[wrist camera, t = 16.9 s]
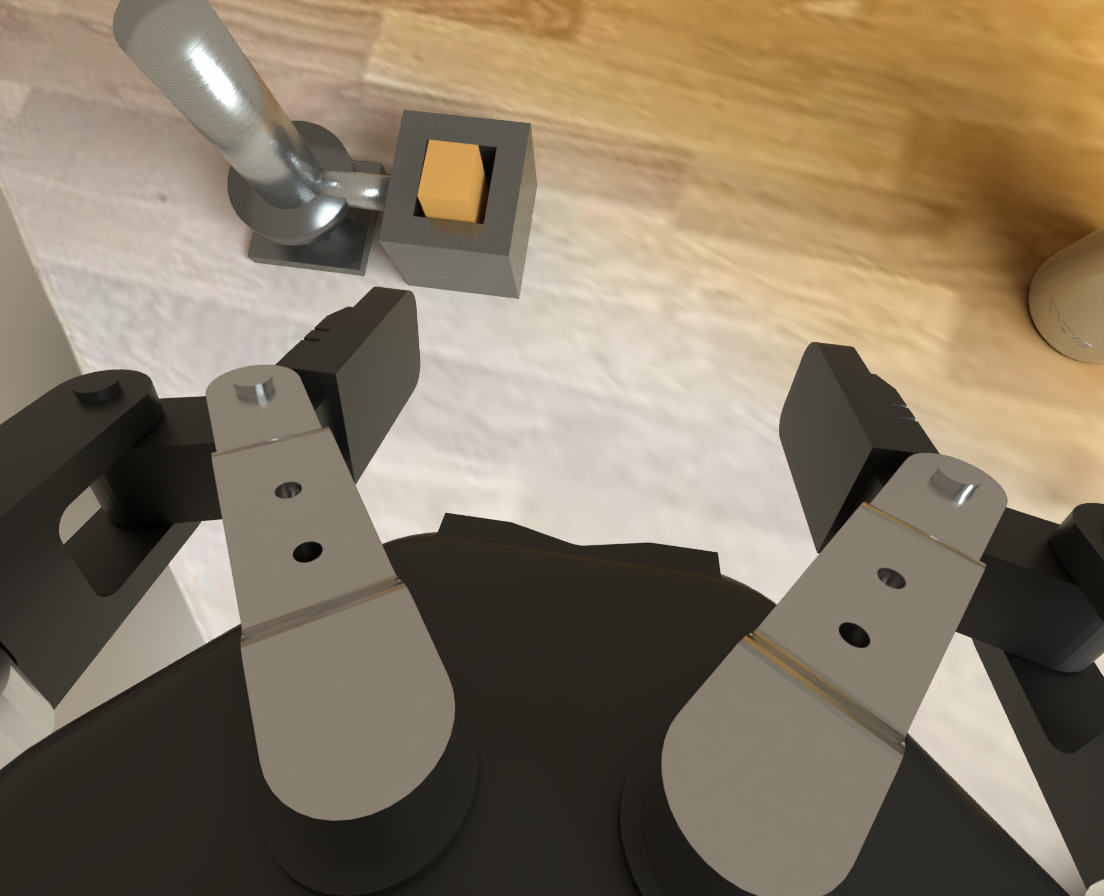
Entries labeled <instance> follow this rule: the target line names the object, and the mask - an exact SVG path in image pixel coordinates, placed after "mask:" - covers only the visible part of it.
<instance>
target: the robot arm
mask: <svg viewBox="0 0 1104 896" xmlns="http://www.w3.org/2000/svg"><path fill="white" fill-rule="evenodd" d="M1028 301H1029V308H1030V314H1031V316H1032V319H1033V321H1034V324H1035V326H1036V328H1037V329H1038V331H1039V332H1040V334H1041V335H1042V337H1043V338H1044V339H1045V340H1046V341H1047V342H1048V343H1049V344H1050V345H1051V346H1052V347H1054V348H1055V349H1056V350H1058V351H1059V352H1061V353H1062V354H1064V355H1066V356H1068V357H1070V358H1072V359H1075V360H1077V361H1081V362H1085V363H1089V364H1104V226H1103V227H1101V228H1099V229H1097V230H1096V231H1094V232H1092V233H1090V234H1089V235H1087V236H1085V237H1083V238H1082V239H1080V240H1078V241H1076V242H1075V243H1073V244H1071V245H1069V246H1068V247H1066V248H1064V249H1062V250H1061V251H1059V252H1057V253H1056V254H1054V255H1052V256H1051V257H1049V258H1048V259H1047V260H1046V261H1045V262H1044V263H1043V264H1042V265H1041V266H1040V267H1039V268H1038V270H1037V271H1036V273H1035V275H1034V276H1033V279H1032V282H1031V285H1030V288H1029V299H1028ZM419 373H420V350H419V337H418V323H417V309H416V301H415V297H414V294H413V293H412V292H411V291H407V290H399V289H391V288H383V287H373V288H372V289H371V290H370V291H369V292H368V293H367V294H366V295H365V296H364V297H363V298H362V299H361V300H360V301H359V302H358V303H357V304H356V305H355V306H354V307H346V308H344V309H342V310H339V311H337V312H335V313H333V314H330V315H328V316H327V317H325V318H324V319H323V320H322V321H321V322H320V323H319V324H318V325H317V326H316V327H315V330H312V331H311V332H310V333H308V334H307V335H306V336H305V337H304V340H301V341H300V342H299V343H298V344H297V345H296V346H295V347H294V348H293V349H291V350H290V351H289V352H288V353H287V354H286V355H285V356H284V357H283V358H282V359H281V360H280V361H279V362H278V363H277V364H275V365H254V366H247V367H242V368H238V369H235V370H232V371H229V372H227V373H225V374H223V375H221V376H219V377H218V378H216V379H215V380H213V381H212V382H211V383H210V384H209V386H208V387H207V390H206V396H201V397H182V398H162V399H159V398H158V395H157V393H156V390H155V388H154V385H153V383H152V381H151V379H150V377H148V376H147V375H146V374H143V373H141V372H138V371H133V370H122V369H120V370H105V371H98V372H93V373H89V374H85V375H82V376H79V377H75V378H73V379H70V380H68V381H66V382H64V383H62V384H60V385H58V386H56V387H55V388H53V389H52V390H50V391H49V392H47V393H46V394H44V395H43V396H42V397H40V398H39V399H37V400H36V401H34V402H33V403H31V404H30V405H28V406H27V407H25V408H24V409H23V410H21V411H20V412H18V413H17V414H15V415H14V416H12V417H11V418H9V419H8V420H7V421H5V422H4V423H2V424H1V425H0V896H1070V895H1069V894H1068V893H1067V892H1066V891H1065V890H1064V889H1063V888H1062V887H1061V886H1060V885H1059V884H1058V883H1057V882H1056V881H1055V880H1054V879H1053V878H1052V877H1051V876H1050V875H1049V874H1048V873H1047V872H1046V871H1045V870H1044V869H1043V868H1042V867H1041V866H1040V865H1039V864H1038V863H1037V862H1036V861H1035V860H1034V859H1033V858H1032V857H1031V856H1030V855H1029V854H1028V853H1027V852H1026V851H1025V850H1024V849H1023V848H1022V847H1021V846H1020V845H1019V844H1018V843H1017V842H1016V841H1015V840H1014V839H1013V838H1012V837H1011V836H1010V835H1009V834H1008V833H1007V832H1006V831H1005V830H1004V829H1003V828H1002V827H1001V826H1000V825H999V824H998V823H997V822H996V821H995V820H994V819H993V818H992V817H991V816H990V815H989V814H988V813H987V812H986V811H985V810H984V809H983V808H982V807H981V806H980V805H979V804H978V803H977V802H976V801H975V800H974V799H973V798H972V797H971V796H970V795H969V794H968V793H967V792H966V791H965V790H964V789H963V788H962V787H961V786H960V785H959V784H958V783H957V782H956V781H955V780H954V779H953V778H952V777H951V776H950V775H949V774H948V773H947V772H946V771H945V770H944V769H943V768H942V767H941V766H940V765H939V764H938V763H937V762H936V761H935V760H934V759H933V758H932V757H931V756H930V755H929V754H928V753H927V752H926V751H925V750H924V749H923V748H922V747H921V746H920V745H919V744H918V743H917V742H916V741H915V740H914V739H913V738H912V737H911V736H910V735H909V734H908V733H907V732H908V730H909V727H910V725H911V723H912V721H913V719H914V717H915V715H916V713H917V711H918V709H919V706H920V704H921V702H922V700H923V698H924V696H925V694H926V692H927V690H928V688H929V686H930V683H931V681H932V679H933V677H934V675H935V673H936V671H937V669H938V667H939V665H940V662H941V660H942V658H943V656H944V654H945V652H946V650H947V648H948V646H949V644H950V642H951V639H952V637H953V635H954V633H955V632H958V633H960V634H963V635H966V636H968V637H971V638H972V640H973V643H974V646H975V648H976V650H977V652H978V654H979V656H980V659H981V661H982V663H983V665H984V667H985V669H986V672H987V674H988V676H989V678H990V680H991V682H992V685H993V687H994V689H995V691H996V693H997V695H998V698H999V700H1000V702H1001V704H1002V706H1003V709H1004V711H1005V713H1006V715H1007V717H1008V719H1009V722H1010V724H1011V726H1012V728H1013V730H1014V732H1015V735H1016V737H1017V739H1018V741H1019V743H1020V745H1021V748H1022V750H1023V752H1024V754H1025V756H1026V758H1027V761H1028V763H1029V765H1030V767H1031V769H1032V772H1033V774H1034V776H1035V778H1036V780H1037V782H1038V785H1039V787H1040V789H1041V791H1042V793H1043V795H1044V798H1045V800H1046V802H1047V804H1048V806H1049V808H1050V811H1051V813H1052V815H1053V817H1054V819H1055V821H1056V824H1057V826H1058V828H1059V830H1060V832H1061V834H1062V837H1063V839H1064V841H1065V843H1066V845H1067V848H1068V850H1069V852H1070V854H1071V856H1072V858H1073V861H1074V863H1075V865H1076V867H1077V869H1078V871H1079V874H1080V876H1081V878H1082V880H1083V882H1084V884H1085V887H1086V889H1087V892H1086V894H1085V896H1104V677H1103V675H1102V674H1101V672H1100V670H1099V669H1098V667H1097V666H1096V664H1095V663H1094V661H1095V660H1096V659H1097V658H1098V657H1100V656H1101V655H1102V654H1103V653H1104V504H1099V503H1085V504H1081V505H1078V506H1077V507H1075V508H1074V509H1073V511H1072V512H1071V513H1070V514H1069V515H1068V516H1067V518H1066V519H1065V520H1064V521H1063V522H1062V523H1061V524H1056V523H1053V522H1050V521H1047V520H1044V519H1041V518H1038V517H1035V516H1031V515H1028V514H1025V513H1022V512H1019V511H1016V510H1013V509H1010V508H1007V507H1006V506H1007V502H1008V500H1007V495H1006V493H1005V491H1004V490H1003V488H1002V487H1001V486H1000V485H999V484H998V483H997V482H996V481H995V480H994V479H993V478H992V477H991V476H989V475H988V474H986V473H985V472H983V471H982V470H980V469H978V468H977V467H975V466H973V465H971V464H969V463H967V462H964V461H962V460H959V459H956V458H953V457H950V456H946V455H942V454H939V452H938V451H937V449H936V448H935V446H934V445H933V443H932V442H931V440H930V439H929V437H928V436H927V435H926V433H925V432H924V430H923V429H922V427H921V426H920V424H919V423H918V422H916V421H915V417H914V415H913V414H912V412H911V411H910V410H909V408H906V406H907V405H906V404H905V402H904V401H903V399H902V398H901V396H900V395H899V393H898V392H897V390H896V389H895V388H893V387H892V386H891V385H889V384H888V383H887V382H885V381H884V380H883V379H881V378H880V377H878V376H877V375H876V374H871V373H870V372H869V370H868V368H867V367H866V365H865V364H864V362H863V361H862V359H861V357H860V356H859V354H858V353H857V351H856V350H855V348H854V347H851V346H843V345H835V344H827V343H819V342H812V343H811V344H809V346H808V347H807V348H806V350H805V352H804V354H803V357H802V360H801V362H800V365H799V367H798V370H797V373H796V375H795V378H794V380H793V383H792V386H791V388H790V391H789V393H788V396H787V399H786V401H785V404H784V406H783V409H782V413H781V417H780V424H779V435H780V440H781V443H782V446H783V449H784V452H785V455H786V458H787V462H788V465H789V468H790V471H791V474H792V477H793V480H794V483H795V486H796V489H797V492H798V495H799V498H800V502H801V505H802V508H803V511H804V514H805V517H806V520H807V523H808V526H809V529H810V532H811V535H812V538H813V542H814V545H815V548H816V551H817V553H820V554H819V555H818V556H817V558H816V559H815V560H814V561H813V562H812V564H811V565H810V566H809V567H808V568H807V570H806V571H805V572H804V573H803V574H802V576H801V577H800V578H799V579H798V580H797V582H796V583H795V584H794V585H793V586H792V588H791V589H790V590H789V591H788V592H787V593H786V595H785V596H784V597H783V598H782V599H781V601H780V602H779V603H778V604H775V603H774V602H773V601H771V600H770V599H768V598H767V597H765V596H764V595H762V594H761V593H759V592H758V591H756V590H754V589H752V588H751V587H749V586H747V585H745V584H743V583H741V582H739V581H737V580H734V579H732V578H730V577H727V576H725V575H722V574H721V573H720V566H719V558H718V552H711V551H704V550H697V549H691V548H684V547H677V546H670V545H663V544H656V543H629V544H609V545H588V546H580V545H575V544H571V543H568V542H565V541H563V540H560V539H557V538H554V537H551V536H548V535H546V534H543V533H540V532H537V531H534V530H531V529H529V528H526V527H523V526H520V525H517V524H514V523H512V522H506V521H499V520H492V519H485V518H478V517H471V516H465V515H458V514H451V513H445V515H444V518H443V520H442V523H441V525H440V528H439V530H438V532H432V533H423V534H416V535H411V536H407V537H403V538H398V539H395V540H392V541H389V542H386V543H383V544H382V543H381V541H380V539H379V537H378V534H377V532H376V530H375V528H374V526H373V523H372V521H371V519H370V517H369V514H368V512H367V510H366V508H365V505H364V503H363V501H362V499H361V497H360V494H359V492H358V490H357V488H356V483H357V482H358V480H359V478H360V477H361V475H362V474H363V472H364V470H365V469H366V467H367V465H368V464H369V462H370V461H371V459H372V457H373V456H374V454H375V453H376V451H377V449H378V448H379V446H380V444H381V443H382V441H383V440H384V438H385V436H386V435H387V433H388V431H389V430H390V428H391V427H392V425H393V423H394V422H395V420H396V419H397V417H398V415H399V414H400V412H401V410H402V409H403V407H404V406H405V404H406V402H407V401H408V399H409V397H410V396H411V394H412V393H413V391H414V389H415V387H416V385H417V382H418V378H419ZM89 486H90V487H91V489H92V491H93V493H94V494H95V496H96V498H97V500H98V502H99V503H100V505H101V508H100V509H99V510H98V511H97V512H96V513H95V514H94V515H93V516H92V517H91V518H90V519H89V520H88V521H87V522H86V523H85V524H84V525H83V526H82V527H81V528H80V529H79V530H78V531H77V532H76V533H75V534H74V535H73V536H72V537H71V538H70V539H69V540H68V541H67V542H66V543H65V544H64V545H63V543H62V541H61V539H60V535H59V523H60V519H61V517H62V515H63V513H64V511H65V509H66V508H67V507H68V506H69V504H70V503H72V502H73V501H74V500H75V499H76V498H77V497H78V496H79V495H80V494H81V493H82V492H83V491H85V490H86V488H88V487H89ZM219 519H223V525H224V530H225V536H226V541H227V547H228V553H229V558H230V564H231V569H232V575H233V581H234V586H235V592H236V597H237V603H238V609H239V614H240V620H241V624H239V625H237V626H236V627H234V628H232V629H231V630H229V631H227V632H225V633H224V634H222V635H220V636H218V637H217V638H215V639H213V640H212V641H210V642H208V643H206V644H205V645H203V646H201V647H199V648H198V649H196V650H194V651H193V652H191V653H189V654H187V655H186V656H184V657H182V658H181V659H179V660H177V661H175V662H174V663H172V664H170V665H168V666H167V667H165V668H163V669H162V670H160V671H158V672H156V673H155V674H153V675H151V676H149V677H148V678H146V679H144V680H143V681H141V682H139V683H137V684H136V685H134V686H132V687H131V688H129V689H127V690H125V691H124V692H122V693H120V694H118V695H117V696H115V697H113V698H112V699H110V700H108V701H107V702H105V703H103V704H101V705H99V706H98V707H96V708H94V709H93V710H91V711H89V712H87V713H86V714H84V715H82V716H81V717H79V718H77V719H75V720H74V721H72V722H71V723H68V724H67V725H65V726H63V727H62V728H60V729H58V730H56V731H55V732H53V728H54V724H55V715H54V711H53V710H54V709H55V708H56V707H57V705H58V704H59V703H60V701H61V700H62V699H63V698H64V696H65V695H66V694H67V693H68V691H69V690H70V689H71V687H72V686H73V685H74V683H75V682H76V681H77V680H78V679H79V677H80V676H81V675H82V674H83V672H84V671H85V670H86V668H87V667H88V666H89V665H90V663H91V662H92V661H93V660H94V658H95V657H96V656H97V654H98V653H99V652H100V651H101V649H102V648H103V647H104V646H105V644H106V643H107V642H108V640H109V639H110V638H111V637H112V635H113V634H114V633H115V631H116V630H117V629H118V628H119V626H120V625H121V623H123V621H124V620H125V619H126V617H127V616H128V615H129V614H130V612H131V611H132V610H133V608H134V607H135V606H136V605H137V603H138V602H139V601H140V600H141V598H142V597H143V595H144V594H145V593H146V592H147V591H148V589H149V588H150V587H151V586H152V584H153V583H154V582H155V581H156V579H157V578H158V577H159V575H160V574H161V573H162V572H163V570H164V569H165V568H166V567H167V565H168V564H169V563H170V561H171V560H172V559H173V558H174V556H175V555H176V554H177V552H178V551H179V550H180V549H181V547H182V546H183V545H184V544H185V542H186V541H187V540H188V538H189V537H190V536H191V535H192V533H193V532H194V531H195V530H196V528H197V527H198V526H199V524H200V523H201V521H208V520H219ZM52 732H53V733H52Z"/></svg>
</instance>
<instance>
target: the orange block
mask: <svg viewBox="0 0 1104 896" xmlns="http://www.w3.org/2000/svg"><path fill="white" fill-rule="evenodd" d="M417 196H418V198H419V201H420V203H421V205H422V208H423V210H424V212H425V215H426V217H427V218H434V219H442V220H451V221H459V222H468V223H476V224H484V220H485V214H486V208H487V202H488V196H489V191H488V187H487V182H486V178H485V173H484V169H483V165H482V160H481V156H480V151H479V147H478V145H473V144H464V143H455V142H445V141H436V140H429V143H428V147H427V152H426V157H425V162H424V166H423V171H422V176H421V181H420V185H419V190H418V195H417Z"/></svg>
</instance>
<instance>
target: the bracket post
mask: <svg viewBox="0 0 1104 896" xmlns="http://www.w3.org/2000/svg"><path fill="white" fill-rule="evenodd" d="M113 32H114V36H115V39H116V41H117V43H118V45H119V46H120V48H121V49H122V50H123V51H124V52H125V53H126V54H127V55H128V56H129V57H130V59H131V60H132V61H133V62H134V63H135V64H136V65H137V66H138V67H139V68H140V69H141V70H142V71H143V72H144V73H145V74H146V75H147V77H148V78H149V79H150V80H151V81H152V82H153V83H154V84H155V85H156V86H157V87H158V88H159V89H160V90H161V91H162V92H163V94H164V95H165V96H166V97H167V98H168V99H169V100H170V101H171V102H172V103H173V104H174V105H175V106H176V107H177V108H178V109H179V110H180V112H181V113H182V114H183V115H184V116H185V117H186V118H187V119H188V120H189V121H190V122H191V123H192V124H193V125H194V126H195V127H196V129H197V130H198V131H199V132H200V133H201V134H202V135H203V136H204V137H205V138H206V139H207V140H208V141H209V142H210V143H211V144H212V145H213V147H214V148H215V149H216V150H217V151H218V152H219V153H220V154H221V155H222V156H223V157H224V158H225V159H226V160H227V161H228V162H229V164H230V165H231V167H230V170H229V175H228V194H229V198H230V201H231V204H232V206H233V208H234V210H235V211H236V213H237V215H238V216H239V217H240V218H241V219H242V220H243V221H244V222H245V223H246V224H247V225H248V226H249V227H250V228H251V229H252V230H253V231H254V232H253V236H252V241H251V245H250V249H249V254H248V257H249V258H250V259H252V260H253V261H254V262H256V263H264V264H272V265H280V266H288V267H296V268H305V269H313V270H321V271H329V272H337V273H345V274H353V275H361V276H365V271H366V266H367V261H368V256H369V251H370V246H371V241H372V236H373V230H374V225H375V220H376V215H377V211H384V214H383V219H382V224H381V229H380V234H379V239H378V241H379V242H380V244H381V245H382V247H383V248H384V250H385V251H386V253H387V254H388V256H389V257H390V259H391V260H392V262H393V263H394V265H395V266H396V268H397V269H398V270H399V272H400V273H401V275H402V276H403V278H404V279H405V281H406V282H407V284H408V285H412V286H420V287H429V288H437V289H445V290H453V291H461V292H469V293H477V294H485V295H493V296H501V297H509V298H517V299H519V295H520V289H521V283H522V276H523V270H524V264H525V257H526V251H527V245H528V239H529V232H530V226H531V220H532V213H533V207H534V201H535V195H536V188H537V180H536V170H535V161H534V151H533V142H532V132H531V123H522V122H512V121H503V120H494V119H484V118H475V117H465V116H456V115H447V114H437V113H428V112H418V111H409V110H404V112H403V117H402V122H401V127H400V132H399V137H398V142H397V148H396V153H395V158H394V163H393V168H392V173H391V176H388V175H385V170H384V168H383V166H382V164H381V163H372V162H364V161H355V160H352V159H351V158H350V156H349V154H348V153H347V151H346V149H345V148H344V146H343V145H342V143H341V142H340V141H339V139H338V138H337V137H336V136H335V135H333V134H332V133H331V132H330V131H328V130H327V129H325V128H323V127H321V126H319V125H317V124H313V123H310V122H305V121H290V119H289V118H288V116H287V115H286V114H285V112H284V111H283V109H282V108H281V106H280V105H279V103H278V102H277V101H276V99H275V98H274V96H273V95H272V93H271V92H270V90H269V89H268V88H267V86H266V85H265V83H264V82H263V80H262V79H261V77H260V76H259V75H258V73H257V72H256V70H255V69H254V67H253V66H252V65H251V63H250V62H249V60H248V59H247V57H246V56H245V54H244V53H243V52H242V50H241V49H240V47H239V46H238V44H237V43H236V41H235V40H234V39H233V37H232V36H231V34H230V33H229V31H228V30H227V29H226V27H225V26H224V24H223V23H222V21H221V20H220V18H219V17H218V16H217V14H216V13H215V11H214V10H213V8H212V7H211V5H210V4H209V3H208V1H207V0H121V2H120V3H119V5H118V7H117V9H116V12H115V15H114V20H113ZM429 140H436V141H445V142H455V143H464V144H473V145H478V147H479V151H480V156H481V160H482V165H483V169H484V173H485V178H486V182H487V187H488V191H489V196H488V202H487V208H486V214H485V220H484V224H476V223H468V222H459V221H451V220H442V219H434V218H427V217H426V215H425V212H424V210H423V208H422V205H421V203H420V201H419V198H418V196H417V195H418V190H419V185H420V181H421V176H422V171H423V166H424V162H425V157H426V152H427V147H428V143H429Z"/></svg>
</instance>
